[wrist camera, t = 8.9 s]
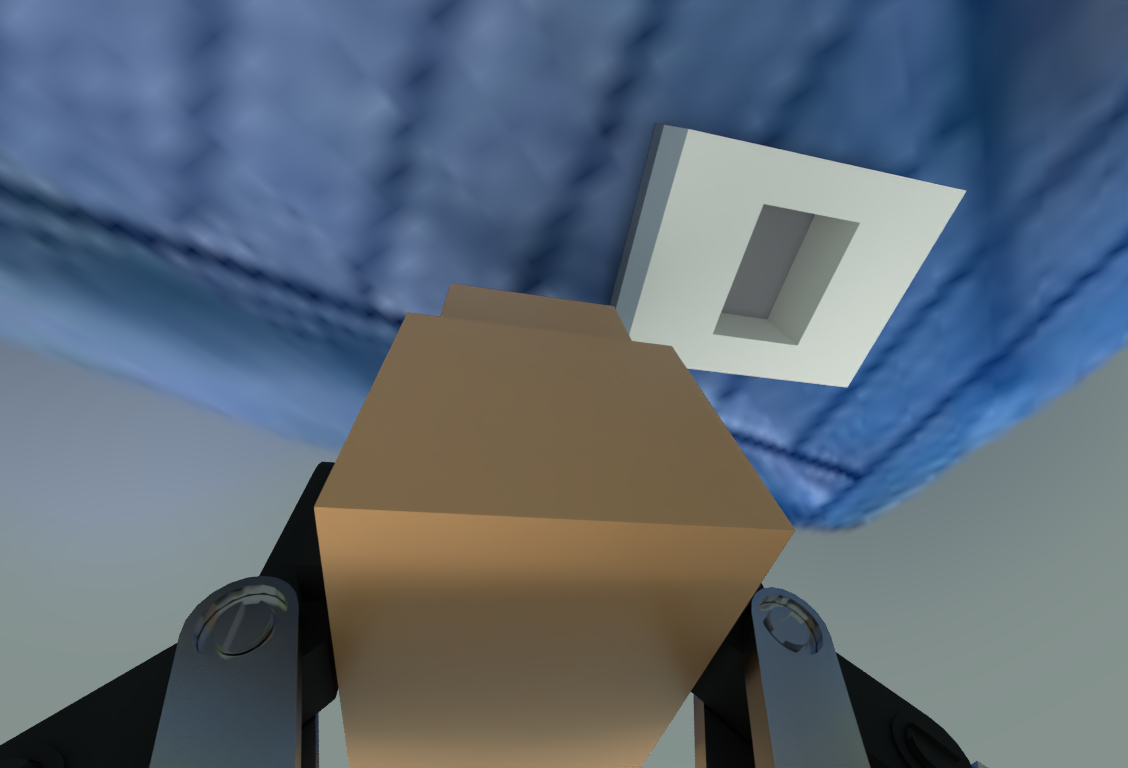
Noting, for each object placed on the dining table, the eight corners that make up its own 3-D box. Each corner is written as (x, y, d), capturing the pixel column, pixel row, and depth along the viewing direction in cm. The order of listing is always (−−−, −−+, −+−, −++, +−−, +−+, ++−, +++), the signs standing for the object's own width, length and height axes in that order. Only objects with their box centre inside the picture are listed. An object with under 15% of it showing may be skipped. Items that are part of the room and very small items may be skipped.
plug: (635, 292, 13) (795, 530, 6) (583, 477, 16) (641, 766, 9) (432, 262, 12) (314, 506, 5) (424, 467, 15) (351, 782, 8)
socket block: (890, 175, 25) (966, 190, 21) (801, 347, 31) (847, 387, 27) (655, 123, 23) (688, 128, 19) (605, 321, 28) (621, 360, 24)
